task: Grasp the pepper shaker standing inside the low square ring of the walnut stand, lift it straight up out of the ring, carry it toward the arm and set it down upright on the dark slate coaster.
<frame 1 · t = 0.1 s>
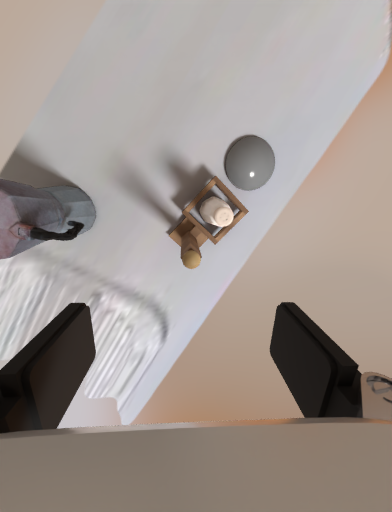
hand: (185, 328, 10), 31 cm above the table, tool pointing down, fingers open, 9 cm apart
coaster: (249, 164, 37), on the table
moka pot: (75, 209, 37), on the table
pepper shaker: (213, 210, 39), resting in ring stand
ring stand: (213, 210, 39), on the table
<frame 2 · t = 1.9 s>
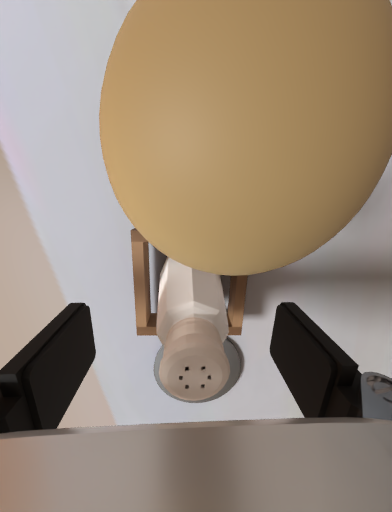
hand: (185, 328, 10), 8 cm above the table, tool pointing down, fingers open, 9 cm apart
coaster: (197, 366, 21), on the table
pepper shaker: (190, 272, 18), resting in ring stand
ring stand: (190, 273, 18), on the table
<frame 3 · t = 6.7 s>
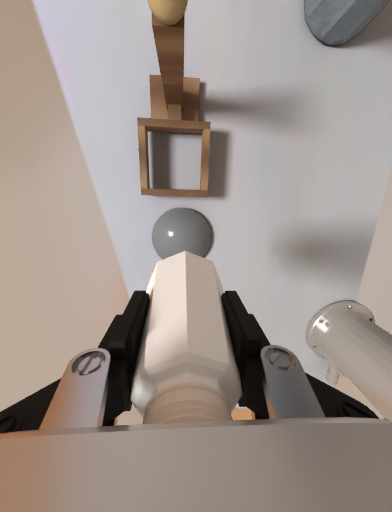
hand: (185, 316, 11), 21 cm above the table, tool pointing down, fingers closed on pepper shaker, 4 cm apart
coaster: (181, 237, 31), on the table
moka pot: (333, 6, 24), on the table
pepper shaker: (185, 284, 15), point 17 cm above the table, touching gripper
ring stand: (175, 163, 28), on the table
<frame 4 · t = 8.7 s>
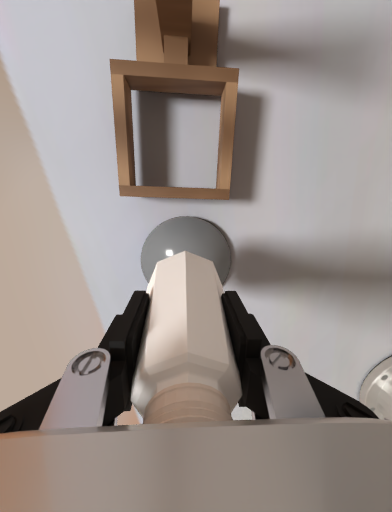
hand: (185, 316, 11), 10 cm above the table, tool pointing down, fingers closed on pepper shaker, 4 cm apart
coaster: (186, 260, 20), on the table
pepper shaker: (185, 284, 15), point 6 cm above the table, touching gripper
ring stand: (177, 146, 17), on the table
when the fingers open (6 cm above the table, at t = 10.3 s): pepper shaker drops 1 cm, resting on coaster.
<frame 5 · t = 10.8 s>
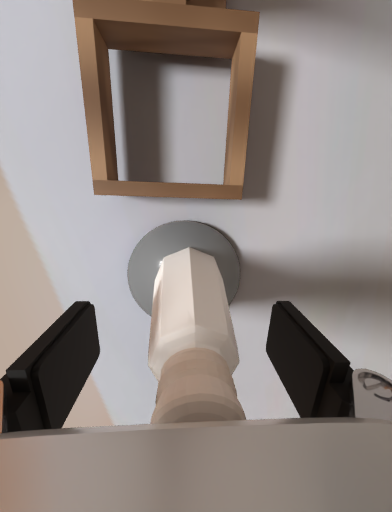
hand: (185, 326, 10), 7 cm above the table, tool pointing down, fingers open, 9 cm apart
coaster: (184, 275, 16), on the table
pepper shaker: (189, 278, 16), resting on coaster
ring stand: (172, 129, 13), on the table
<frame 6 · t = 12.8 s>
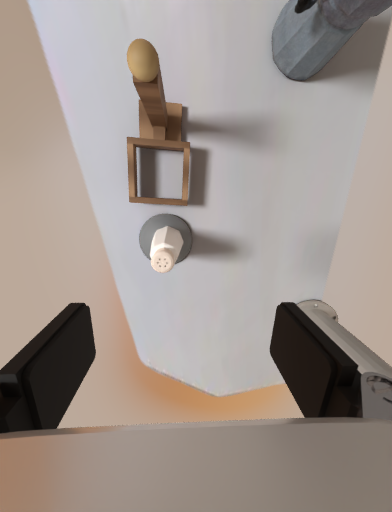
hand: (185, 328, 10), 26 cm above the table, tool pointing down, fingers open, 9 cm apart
coaster: (166, 239, 35), on the table
moka pot: (298, 47, 28), on the table
pepper shaker: (167, 241, 35), resting on coaster
ring stand: (160, 175, 32), on the table
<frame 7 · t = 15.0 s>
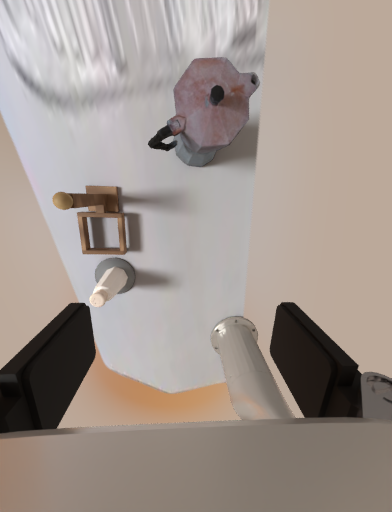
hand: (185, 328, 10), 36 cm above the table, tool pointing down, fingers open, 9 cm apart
coaster: (115, 275, 47), on the table
moka pot: (195, 145, 40), on the table
pepper shaker: (116, 276, 47), resting on coaster
ring stand: (106, 231, 44), on the table
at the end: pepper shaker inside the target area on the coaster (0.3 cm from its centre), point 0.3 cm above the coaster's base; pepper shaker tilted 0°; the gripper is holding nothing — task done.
